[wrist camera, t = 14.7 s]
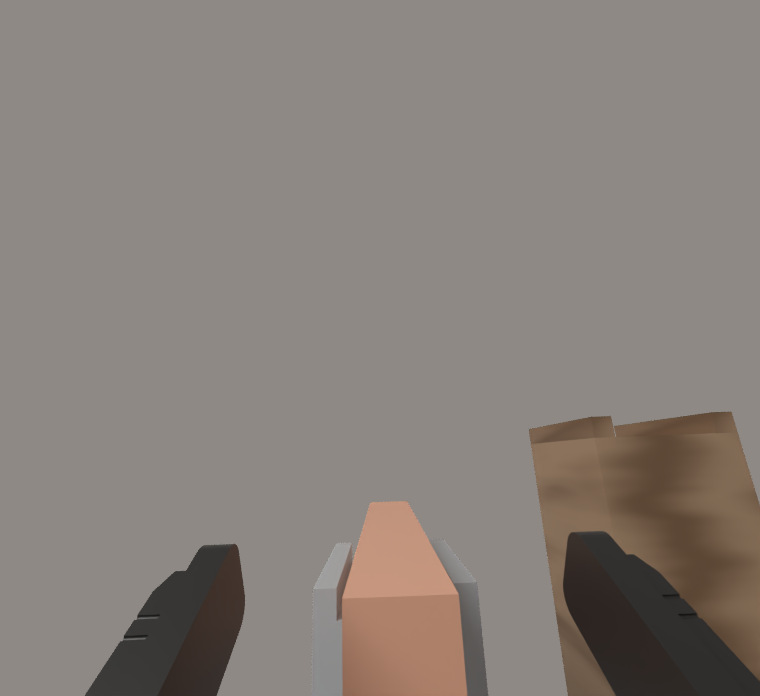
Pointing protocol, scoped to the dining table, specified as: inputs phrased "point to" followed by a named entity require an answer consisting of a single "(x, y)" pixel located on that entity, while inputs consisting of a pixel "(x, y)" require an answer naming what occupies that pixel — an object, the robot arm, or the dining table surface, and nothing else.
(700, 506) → the tower
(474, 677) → the cradle
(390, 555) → the stick
